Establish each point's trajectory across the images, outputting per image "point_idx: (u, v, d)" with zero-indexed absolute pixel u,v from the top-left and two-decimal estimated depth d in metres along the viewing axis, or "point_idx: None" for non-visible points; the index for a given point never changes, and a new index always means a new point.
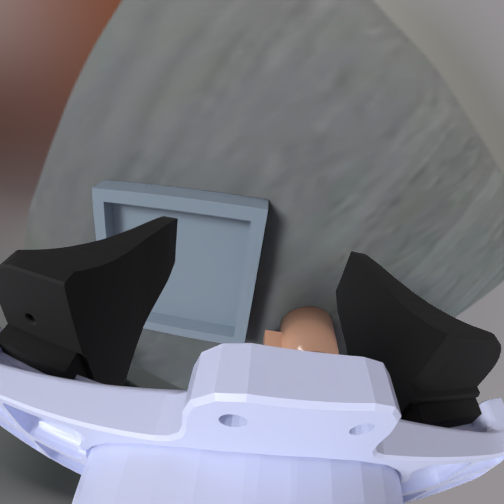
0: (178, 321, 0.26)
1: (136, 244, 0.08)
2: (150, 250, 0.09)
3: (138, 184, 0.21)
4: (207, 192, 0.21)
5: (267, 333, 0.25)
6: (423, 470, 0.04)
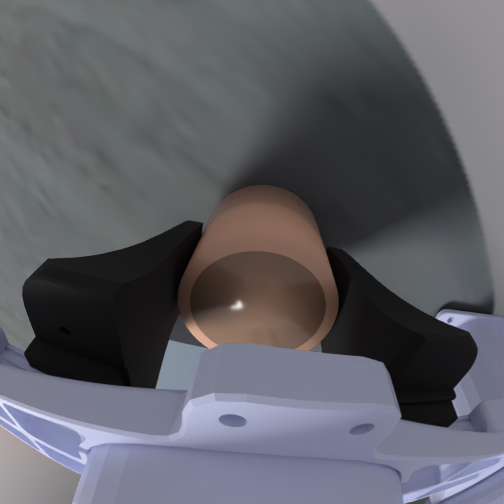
0: None
1: (170, 251, 0.08)
2: (181, 256, 0.09)
3: None
4: None
5: None
6: (423, 470, 0.04)
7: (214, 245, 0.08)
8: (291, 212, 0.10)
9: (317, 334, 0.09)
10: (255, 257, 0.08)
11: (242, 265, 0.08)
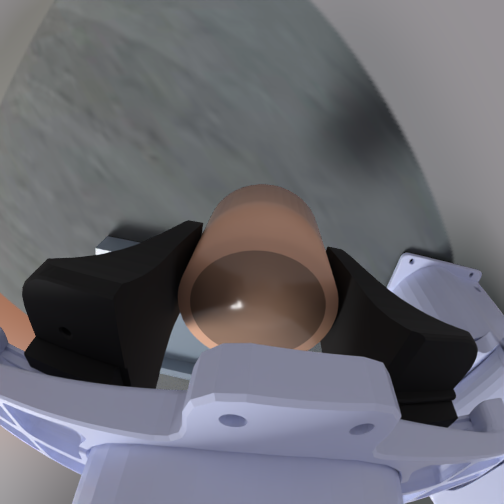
0: None
1: (170, 251, 0.08)
2: (180, 256, 0.09)
3: None
4: None
5: None
6: (423, 470, 0.04)
7: (215, 245, 0.08)
8: (291, 211, 0.10)
9: (317, 333, 0.09)
10: (255, 257, 0.08)
11: (242, 265, 0.08)
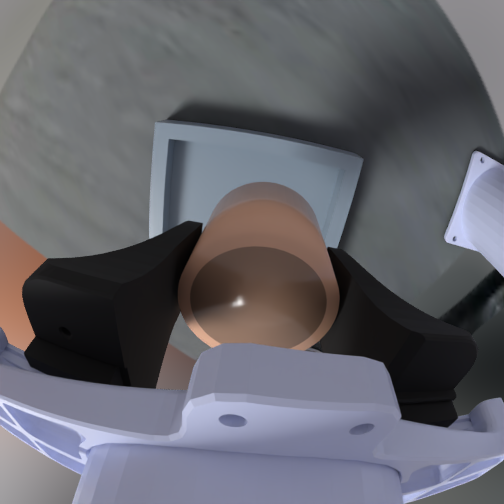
0: None
1: (169, 251, 0.08)
2: (180, 256, 0.09)
3: None
4: None
5: None
6: (423, 470, 0.04)
7: (217, 240, 0.08)
8: (293, 209, 0.10)
9: (317, 332, 0.09)
10: (257, 253, 0.08)
11: (244, 260, 0.08)
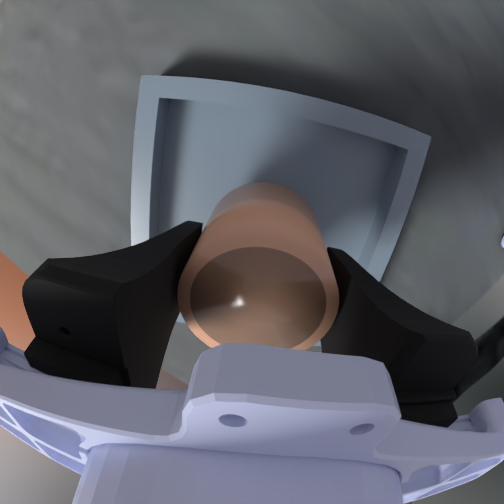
0: (370, 242, 0.14)
1: (169, 251, 0.08)
2: (180, 256, 0.09)
3: None
4: None
5: None
6: (423, 470, 0.04)
7: (217, 240, 0.08)
8: (293, 209, 0.10)
9: (316, 333, 0.09)
10: (257, 253, 0.08)
11: (244, 261, 0.08)
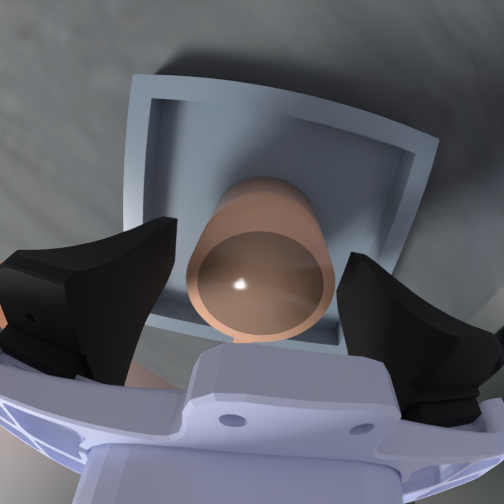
0: (374, 250, 0.14)
1: (136, 244, 0.08)
2: (150, 250, 0.09)
3: None
4: None
5: None
6: (423, 470, 0.04)
7: (223, 225, 0.09)
8: (292, 200, 0.11)
9: (315, 313, 0.10)
10: (260, 237, 0.09)
11: (248, 245, 0.09)
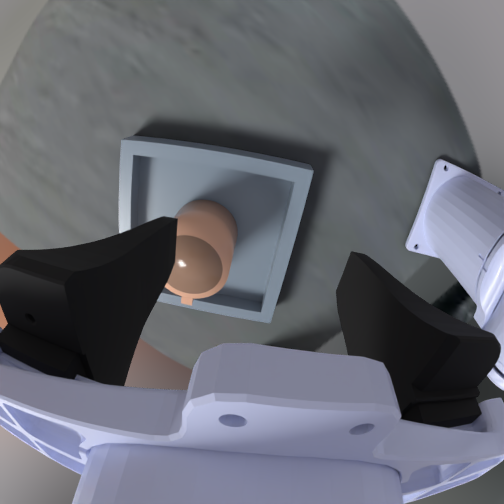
0: (277, 245, 0.22)
1: (136, 244, 0.08)
2: (150, 250, 0.09)
3: None
4: None
5: None
6: (423, 470, 0.04)
7: None
8: (211, 216, 0.19)
9: (220, 281, 0.18)
10: (185, 238, 0.17)
11: (180, 242, 0.17)
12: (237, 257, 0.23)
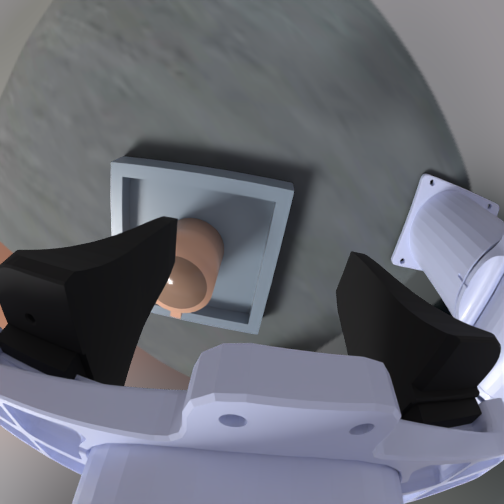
0: (261, 261, 0.23)
1: (136, 244, 0.08)
2: (150, 250, 0.09)
3: None
4: None
5: None
6: (423, 470, 0.04)
7: None
8: (197, 236, 0.20)
9: (205, 298, 0.19)
10: None
11: None
12: (224, 272, 0.24)
